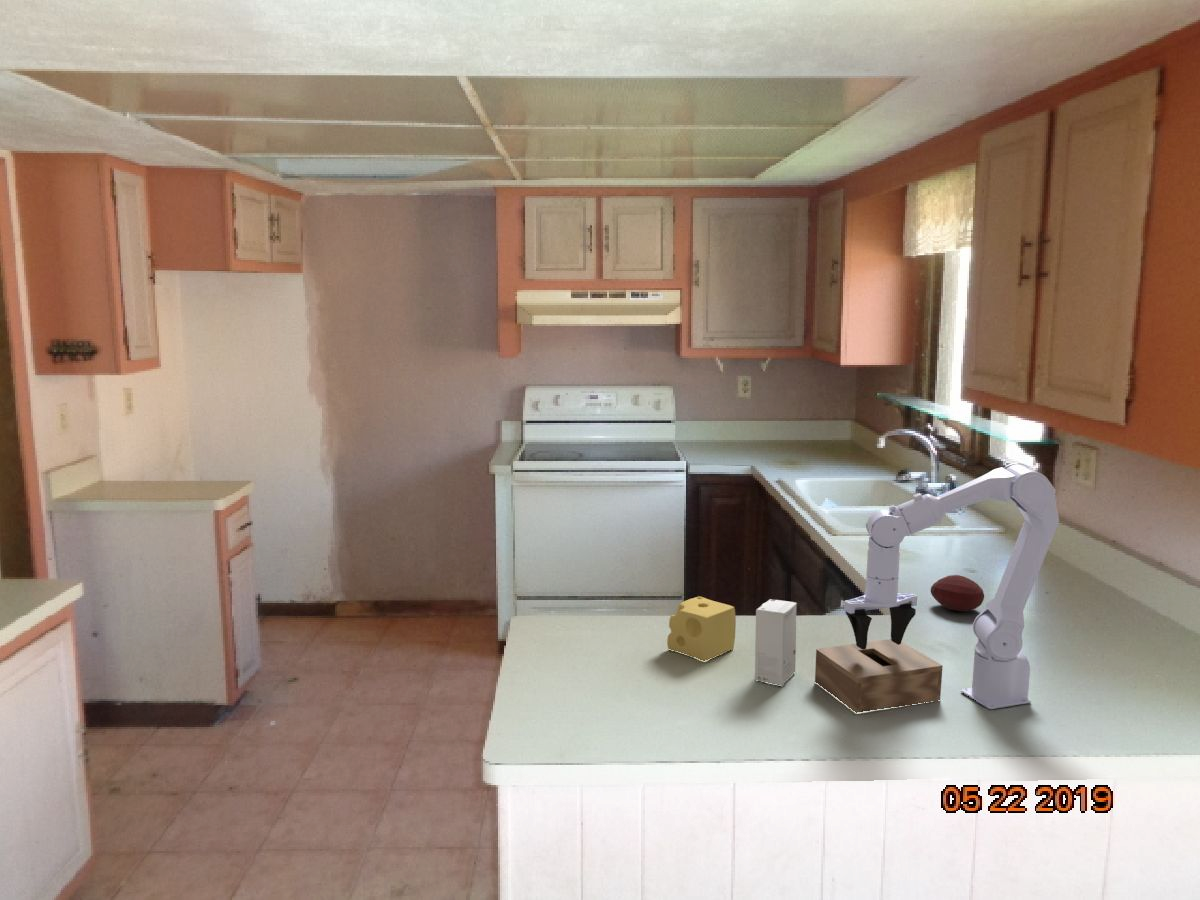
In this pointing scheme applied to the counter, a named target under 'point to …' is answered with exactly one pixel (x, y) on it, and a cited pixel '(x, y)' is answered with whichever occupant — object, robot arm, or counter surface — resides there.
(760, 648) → the skincare box
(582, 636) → the counter surface
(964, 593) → the american football
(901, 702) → the coin box
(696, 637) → the cheese
